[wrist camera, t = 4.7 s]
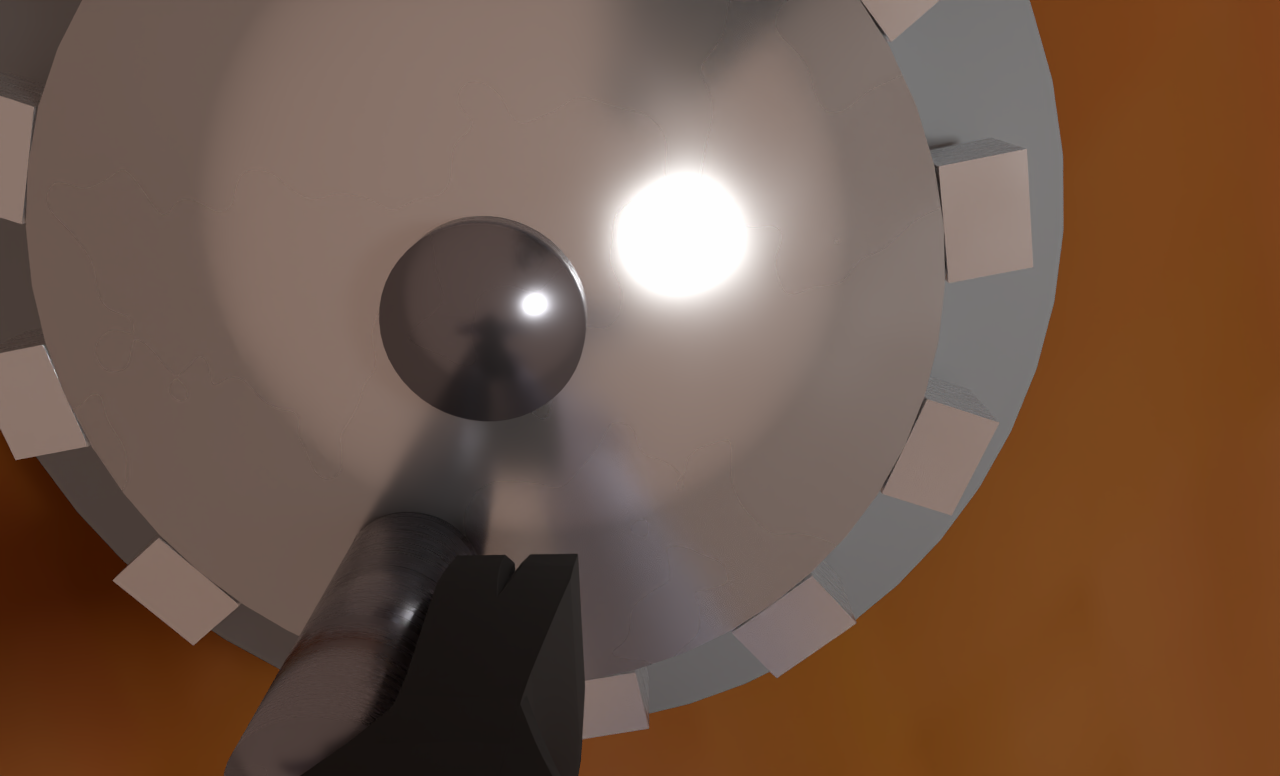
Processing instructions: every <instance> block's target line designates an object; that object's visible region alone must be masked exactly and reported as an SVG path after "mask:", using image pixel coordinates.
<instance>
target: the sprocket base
mask: <svg viewBox="0 0 1280 776" xmlns="http://www.w3.org/2000/svg"><path fill="white" fill-rule="evenodd" d="M81 1H82V0H0V73H7V72H11V73H14V74H17V75H20V76H23V77H26V78H29V79H32V80H35V81H38V82H41V83H44V84H46V82H47V79H48V76H49V73H50V70H51V67H52V64H53V61H54V58H55V55H56V52H57V49H58V46H59V45H60V43H61V41H62V39H63V37H64V35H65V33H66V31H67V29H68V27H69V25H70V23H71V21H72V19H73V17H74V15H75V13H76V11H77V9H78V7H79V5H80V3H81ZM887 43H888V45H889V47H890V49H891V51H892V53H893V55H894V58H895V60H896V62H897V64H898V66H899V69H900V71H901V73H902V75H903V77H904V80H905V82H906V84H907V86H908V88H909V90H910V93H911V95H912V97H913V99H914V101H915V104H916V106H917V109H918V113H919V116H920V119H921V123H922V126H923V129H924V133H925V136H926V139H927V143H928V146H929V149H930V150H931V149H936V148H941V147H946V146H951V145H956V144H961V143H966V142H971V141H976V140H981V139H986V138H994V139H997V140H1001V141H1004V142H1007V143H1010V144H1013V145H1016V146H1020V147H1023V148H1026V149H1027V159H1028V177H1029V196H1030V215H1031V233H1032V252H1033V267H1032V268H1026V269H1021V270H1016V271H1011V272H1005V273H1000V274H995V275H989V276H984V277H979V278H974V279H968V280H963V281H958V282H953V283H948V282H947V281H946V280H945V289H944V298H943V306H942V315H941V324H940V332H939V341H938V346H937V350H936V353H935V357H934V361H933V365H932V369H931V373H930V376H932V377H935V378H938V379H941V380H944V381H947V382H950V383H953V384H956V385H959V386H962V387H965V388H968V389H970V390H971V392H972V393H973V394H974V395H975V396H976V397H977V398H978V399H979V400H980V402H981V403H982V404H983V405H984V406H985V407H986V408H987V409H988V410H989V412H990V413H991V414H992V415H993V416H994V417H995V418H996V419H997V420H998V422H999V425H998V427H997V429H996V431H995V433H994V435H993V437H992V438H991V440H990V442H989V444H988V446H987V448H986V450H985V452H984V454H983V456H982V458H981V460H980V462H979V464H978V466H977V468H976V470H975V471H974V473H973V475H972V477H971V479H970V481H969V483H968V485H967V487H966V489H965V491H964V493H963V495H962V497H961V499H960V501H959V503H958V505H957V506H956V508H955V510H954V512H953V514H952V516H951V515H948V514H945V513H942V512H939V511H935V510H932V509H929V508H926V507H923V506H919V505H916V504H913V503H910V502H907V501H903V500H900V499H897V498H894V497H891V496H887V495H884V494H882V493H881V491H879V493H878V494H877V496H876V497H875V499H874V500H873V501H872V503H871V504H870V505H869V507H868V508H867V509H866V511H865V512H864V513H863V515H862V516H861V517H860V519H859V520H858V521H857V523H856V524H855V525H854V527H853V528H852V529H851V531H850V532H849V533H848V535H847V536H846V537H845V538H844V539H843V540H842V541H841V542H840V543H839V544H838V545H837V546H836V547H835V548H834V550H833V551H832V552H831V553H830V554H829V555H828V556H827V557H826V558H825V559H824V560H825V561H826V562H827V563H828V564H829V565H830V566H831V567H832V568H833V569H834V570H835V571H836V572H837V573H838V575H839V576H840V578H841V581H842V584H843V587H844V589H845V592H846V595H847V598H848V601H849V603H850V606H851V609H852V612H853V615H854V618H855V620H856V619H857V618H858V617H859V616H860V615H862V614H863V613H864V612H865V611H866V610H868V609H869V608H870V607H871V606H873V605H874V604H875V603H876V602H877V601H879V600H880V599H881V598H882V597H883V596H885V595H886V594H887V593H888V592H889V591H891V590H892V589H893V588H894V587H895V586H897V585H898V584H899V583H900V582H901V581H902V580H903V579H904V578H905V576H906V575H907V574H908V573H909V572H910V571H911V570H912V569H913V568H914V567H915V566H916V565H917V564H918V563H919V562H920V561H921V560H922V559H923V558H924V556H925V555H926V554H927V553H928V552H929V551H930V550H931V549H932V548H933V547H934V546H935V545H936V544H937V543H938V542H939V541H940V540H941V538H942V537H943V536H944V534H945V533H946V532H947V530H948V529H949V528H950V526H951V525H952V524H953V522H954V521H955V520H956V518H957V517H958V515H959V514H960V513H961V511H962V510H963V509H964V507H965V506H966V505H967V503H968V502H969V501H970V499H971V498H972V497H973V495H974V494H975V493H976V491H977V490H978V488H979V487H980V485H981V483H982V482H983V480H984V478H985V476H986V474H987V473H988V471H989V469H990V467H991V466H992V464H993V462H994V460H995V459H996V457H997V455H998V453H999V451H1000V450H1001V448H1002V446H1003V444H1004V443H1005V441H1006V439H1007V437H1008V435H1009V434H1010V432H1011V430H1012V427H1013V425H1014V422H1015V420H1016V418H1017V415H1018V413H1019V410H1020V408H1021V405H1022V403H1023V400H1024V398H1025V395H1026V393H1027V391H1028V388H1029V386H1030V383H1031V381H1032V378H1033V376H1034V373H1035V371H1036V368H1037V365H1038V361H1039V357H1040V353H1041V349H1042V346H1043V342H1044V338H1045V334H1046V331H1047V327H1048V323H1049V319H1050V315H1051V312H1052V308H1053V304H1054V299H1055V291H1056V283H1057V276H1058V268H1059V260H1060V252H1061V244H1062V237H1063V153H1062V146H1061V139H1060V132H1059V125H1058V118H1057V110H1056V103H1055V96H1054V89H1053V82H1052V77H1051V74H1050V70H1049V67H1048V63H1047V60H1046V56H1045V53H1044V49H1043V46H1042V42H1041V39H1040V35H1039V32H1038V28H1037V24H1036V21H1035V17H1034V14H1033V10H1032V7H1031V3H1030V1H1029V0H940V1H938V2H937V3H936V4H935V5H934V6H933V7H931V8H930V9H929V10H928V11H927V12H926V13H925V14H923V15H922V16H921V17H920V18H919V19H918V20H916V21H915V22H914V23H913V24H912V25H911V26H909V27H908V28H907V29H906V30H905V31H904V32H903V33H901V34H900V35H899V36H898V37H897V38H896V39H894V40H893V41H892V42H887ZM38 328H42V326H41V322H40V318H39V314H38V309H37V305H36V301H35V297H34V293H33V288H32V282H31V273H30V263H29V253H28V244H27V234H26V223H24V224H20V223H16V222H13V221H10V220H7V219H4V218H0V344H1V343H3V342H5V341H7V340H9V339H11V338H13V337H15V336H17V335H19V334H21V333H23V332H25V331H28V330H33V329H38ZM36 457H37V459H38V460H39V461H40V463H41V464H42V465H43V467H44V468H45V469H46V471H47V472H48V473H49V475H50V476H51V477H52V479H53V480H54V481H55V483H56V484H57V485H58V487H59V488H60V489H61V491H62V492H63V493H64V495H65V496H66V497H67V499H68V500H69V501H70V503H71V504H72V505H73V507H74V508H75V509H76V511H77V512H78V513H79V514H80V515H81V516H82V517H83V519H84V520H85V521H86V522H87V523H88V524H89V525H90V526H91V527H92V528H93V529H94V530H95V531H96V532H97V533H98V535H99V536H100V537H101V538H102V539H103V540H104V541H105V542H106V543H107V544H108V545H109V546H110V547H111V548H112V549H113V551H114V552H115V553H116V554H117V555H118V556H119V557H120V558H121V559H122V560H123V561H124V562H125V563H126V564H127V565H128V564H129V563H130V562H131V561H132V560H133V559H134V558H135V557H136V556H137V554H138V553H139V552H140V551H141V550H142V549H143V548H144V547H145V546H146V545H147V544H148V543H149V542H150V541H151V540H152V539H153V538H154V537H155V536H156V535H157V534H158V533H157V531H156V530H155V529H154V528H153V527H152V526H151V524H150V523H149V522H148V521H147V520H146V519H145V517H144V516H143V515H142V514H141V513H140V512H139V511H138V509H137V508H136V507H135V506H134V505H133V504H132V502H131V501H130V500H129V499H128V498H127V497H126V495H125V494H124V493H123V492H122V490H121V489H120V487H119V486H118V484H117V483H116V481H115V480H114V478H113V477H112V476H111V474H110V473H109V471H108V470H107V468H106V467H105V465H104V464H103V462H102V461H101V459H100V458H99V456H98V455H97V454H96V452H95V451H94V449H93V448H92V446H91V445H89V446H87V447H82V448H77V449H72V450H66V451H61V452H56V453H51V454H45V455H40V456H36ZM212 631H214V632H215V633H217V634H218V635H219V636H221V637H222V638H224V639H225V640H227V641H229V642H231V643H233V644H235V645H236V646H238V647H240V648H242V649H244V650H246V651H248V652H249V653H251V654H253V655H255V656H257V657H259V658H260V659H262V660H264V661H266V662H268V663H270V664H271V665H273V666H275V667H277V668H279V669H281V667H282V665H283V664H284V662H285V660H286V658H287V657H288V655H289V653H290V651H291V650H292V648H293V646H294V644H295V643H296V641H297V639H298V637H299V636H298V635H296V634H294V633H292V632H289V631H288V630H286V629H284V628H282V627H281V626H279V625H277V624H276V623H274V622H272V621H271V620H269V619H267V618H265V617H264V616H262V615H260V614H259V613H257V612H255V611H254V610H252V609H250V608H248V607H247V606H245V605H243V604H242V603H241V604H240V605H239V606H238V607H237V608H236V609H235V610H234V611H233V612H231V613H230V614H229V615H228V616H227V617H226V618H224V619H223V620H222V621H221V622H220V623H219V624H217V625H216V626H215V627H214V628H213V629H212ZM647 670H648V674H649V713H653V712H657V711H661V710H665V709H670V708H674V707H678V706H682V705H686V704H690V703H693V702H696V701H698V700H701V699H704V698H707V697H709V696H712V695H715V694H718V693H720V692H723V691H726V690H729V689H732V688H734V687H737V686H740V685H743V684H745V683H747V682H750V681H752V680H754V679H756V678H758V677H760V676H762V675H764V674H766V673H768V672H770V671H769V670H768V669H767V668H766V667H765V666H764V665H763V664H762V663H761V662H760V661H759V660H758V659H757V658H756V657H755V656H754V655H753V654H752V653H751V652H750V651H749V650H748V649H747V648H746V647H745V646H744V645H743V644H742V643H741V642H740V641H739V640H738V639H737V638H736V637H735V636H734V635H733V634H732V631H729V632H727V633H725V634H723V635H721V636H719V637H717V638H715V639H713V640H711V641H708V642H706V643H704V644H702V645H700V646H698V647H696V648H694V649H692V650H690V651H687V652H685V653H683V654H680V655H677V656H674V657H671V658H669V659H666V660H663V661H660V662H657V663H654V664H651V665H648V666H647Z"/></svg>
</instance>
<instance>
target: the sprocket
mask: <svg viewBox="0 0 1280 776" xmlns="http://www.w3.org/2000/svg"><path fill="white" fill-rule="evenodd" d="M938 1H940V0H82V1H81V3H80V5H79V7H78V9H77V11H76V13H75V15H74V17H73V19H72V21H71V23H70V25H69V27H68V29H67V31H66V33H65V35H64V37H63V39H62V41H61V43H60V45H59V46H58V49H57V52H56V55H55V58H54V61H53V64H52V67H51V70H50V73H49V76H48V79H47V82H46V84H44V83H41V82H38V81H35V80H32V79H29V78H26V77H23V76H20V75H17V74H14V73H11V72H7V73H0V218H4V219H7V220H10V221H13V222H16V223H20V224H24V223H26V234H27V244H28V253H29V263H30V273H31V282H32V288H33V293H34V297H35V301H36V305H37V309H38V314H39V318H40V322H41V326H42V328H38V329H33V330H28V331H25V332H23V333H21V334H19V335H17V336H15V337H13V338H11V339H9V340H7V341H5V342H3V343H1V344H0V429H1V431H2V433H3V435H4V437H5V439H6V441H7V443H8V445H9V447H10V450H11V452H12V454H13V456H14V458H15V460H19V459H24V458H29V457H35V456H40V455H45V454H51V453H56V452H61V451H66V450H72V449H77V448H82V447H87V446H89V445H91V446H92V448H93V449H94V451H95V452H96V454H97V455H98V456H99V458H100V459H101V461H102V462H103V464H104V465H105V467H106V468H107V470H108V471H109V473H110V474H111V476H112V477H113V478H114V480H115V481H116V483H117V484H118V486H119V487H120V489H121V490H122V492H123V493H124V494H125V495H126V497H127V498H128V499H129V500H130V501H131V502H132V504H133V505H134V506H135V507H136V508H137V509H138V511H139V512H140V513H141V514H142V515H143V516H144V517H145V519H146V520H147V521H148V522H149V523H150V524H151V526H152V527H153V528H154V529H155V530H156V531H157V533H158V534H157V535H156V536H155V537H154V538H153V539H152V540H151V541H150V542H149V543H148V544H147V545H146V546H145V547H144V548H143V549H142V550H141V551H140V552H139V553H138V554H137V556H136V557H135V558H134V559H133V560H132V561H131V562H130V563H129V564H128V565H127V566H126V567H125V568H124V569H123V570H122V571H121V572H120V573H119V574H118V575H117V576H116V577H115V578H114V579H113V580H112V581H114V582H115V583H116V584H117V585H119V586H120V587H121V588H122V589H124V590H125V591H126V592H127V593H129V594H130V595H131V596H132V597H134V598H135V599H136V600H137V601H139V602H140V603H141V604H142V605H144V606H145V607H146V608H147V609H149V610H150V611H151V612H152V613H154V614H155V615H156V616H157V617H158V618H160V619H161V620H162V621H163V622H165V623H166V624H167V625H168V626H170V627H171V628H172V629H173V630H175V631H176V632H177V633H178V634H180V635H181V636H182V637H183V638H185V639H186V640H187V641H188V642H190V643H191V644H192V645H194V644H195V643H197V642H198V641H199V640H200V639H201V638H202V637H204V636H205V635H206V634H207V633H208V632H209V631H211V630H212V629H213V628H214V627H215V626H216V625H217V624H219V623H220V622H221V621H222V620H223V619H224V618H226V617H227V616H228V615H229V614H230V613H231V612H233V611H234V610H235V609H236V608H237V607H238V606H239V605H240V604H241V603H242V604H243V605H245V606H247V607H248V608H250V609H252V610H254V611H255V612H257V613H259V614H260V615H262V616H264V617H265V618H267V619H269V620H271V621H272V622H274V623H276V624H277V625H279V626H281V627H282V628H284V629H286V630H288V631H289V632H292V633H294V634H296V635H298V636H299V637H298V639H297V641H296V643H295V644H294V646H293V648H292V650H291V651H290V653H289V655H288V657H287V658H286V660H285V662H284V664H283V665H282V667H281V669H280V671H279V672H278V674H277V676H276V678H275V679H274V681H273V683H272V685H271V686H270V688H269V690H268V692H267V693H266V695H265V697H264V699H263V700H262V702H261V704H260V706H259V707H258V709H257V711H256V713H255V715H254V716H253V718H252V720H251V722H250V723H249V725H248V727H247V729H246V730H245V732H244V734H243V736H242V737H241V739H240V741H239V743H238V744H237V746H236V748H235V750H234V751H233V753H232V755H231V757H230V759H229V761H228V763H227V766H226V769H225V772H224V776H300V775H302V774H303V773H305V772H306V771H308V770H309V769H310V768H312V767H313V766H315V765H316V764H318V763H319V762H321V761H322V760H323V759H325V758H326V757H328V756H329V755H331V754H332V753H333V752H335V751H336V750H338V749H339V748H341V747H342V746H344V745H345V744H346V743H348V742H349V741H350V740H352V739H353V738H354V737H356V736H357V735H358V734H359V733H361V732H362V731H363V730H364V729H366V728H367V727H368V726H369V725H370V724H372V723H373V722H374V721H375V720H377V719H378V718H379V717H380V716H381V715H383V714H384V713H385V712H386V711H387V710H389V709H390V708H391V707H392V706H393V704H394V702H395V700H396V698H397V696H398V694H399V692H400V689H401V687H402V684H403V682H404V680H405V677H406V675H407V672H408V669H409V666H410V663H411V660H412V657H413V654H414V651H415V647H416V644H417V641H418V638H419V635H420V632H421V629H422V626H423V623H424V620H425V617H426V614H427V611H428V608H429V605H430V602H431V599H432V596H433V593H434V590H435V587H436V585H437V582H438V580H439V579H440V577H441V576H442V574H443V573H444V571H445V569H446V568H447V567H448V566H449V564H450V563H451V562H452V561H453V560H454V559H455V557H456V556H457V555H506V556H508V557H509V558H510V559H511V560H512V561H513V562H514V563H515V571H516V569H517V568H518V567H519V565H520V564H521V563H522V562H523V561H524V560H525V559H526V558H527V557H528V556H529V555H530V554H578V561H579V580H580V599H581V618H582V636H583V655H584V674H585V701H584V718H583V735H582V739H586V738H592V737H598V736H605V735H611V734H617V733H624V732H630V731H636V730H643V729H649V674H648V670H647V666H648V665H651V664H654V663H657V662H660V661H663V660H666V659H669V658H671V657H674V656H677V655H680V654H683V653H685V652H687V651H690V650H692V649H694V648H696V647H698V646H700V645H702V644H704V643H706V642H708V641H711V640H713V639H715V638H717V637H719V636H721V635H723V634H725V633H727V632H729V631H732V634H733V635H734V636H735V637H736V638H737V639H738V640H739V641H740V642H741V643H742V644H743V645H744V646H745V647H746V648H747V649H748V650H749V651H750V652H751V653H752V654H753V655H754V656H755V657H756V658H757V659H758V660H759V661H760V662H761V663H762V664H763V665H764V666H765V667H766V668H767V669H768V670H769V671H770V672H771V673H772V674H773V675H774V676H775V677H776V678H778V677H779V676H781V675H782V674H783V673H785V672H786V671H788V670H789V669H791V668H792V667H794V666H795V665H796V664H798V663H799V662H801V661H802V660H804V659H805V658H807V657H808V656H809V655H811V654H812V653H814V652H815V651H817V650H818V649H820V648H821V647H823V646H824V645H825V644H827V643H828V642H830V641H831V640H833V639H834V638H836V637H837V636H838V635H840V634H841V633H843V632H844V631H846V630H847V629H849V628H850V627H851V626H853V625H854V624H856V620H855V618H854V615H853V612H852V609H851V606H850V603H849V601H848V598H847V595H846V592H845V589H844V587H843V584H842V581H841V578H840V576H839V575H838V573H837V572H836V571H835V570H834V569H833V568H832V567H831V566H830V565H829V564H828V563H827V562H826V561H825V560H824V559H825V558H826V557H827V556H828V555H829V554H830V553H831V552H832V551H833V550H834V548H835V547H836V546H837V545H838V544H839V543H840V542H841V541H842V540H843V539H844V538H845V537H846V536H847V535H848V533H849V532H850V531H851V529H852V528H853V527H854V525H855V524H856V523H857V521H858V520H859V519H860V517H861V516H862V515H863V513H864V512H865V511H866V509H867V508H868V507H869V505H870V504H871V503H872V501H873V500H874V499H875V497H876V496H877V494H878V493H879V491H881V493H882V494H884V495H887V496H891V497H894V498H897V499H900V500H903V501H907V502H910V503H913V504H916V505H919V506H923V507H926V508H929V509H932V510H935V511H939V512H942V513H945V514H948V515H951V516H952V514H953V512H954V510H955V508H956V506H957V505H958V503H959V501H960V499H961V497H962V495H963V493H964V491H965V489H966V487H967V485H968V483H969V481H970V479H971V477H972V475H973V473H974V471H975V470H976V468H977V466H978V464H979V462H980V460H981V458H982V456H983V454H984V452H985V450H986V448H987V446H988V444H989V442H990V440H991V438H992V437H993V435H994V433H995V431H996V429H997V427H998V425H999V422H998V420H997V419H996V418H995V417H994V416H993V415H992V414H991V413H990V412H989V410H988V409H987V408H986V407H985V406H984V405H983V404H982V403H981V402H980V400H979V399H978V398H977V397H976V396H975V395H974V394H973V393H972V392H971V390H970V389H968V388H965V387H962V386H959V385H956V384H953V383H950V382H947V381H944V380H941V379H938V378H935V377H932V376H930V373H931V369H932V365H933V361H934V357H935V353H936V350H937V346H938V341H939V332H940V324H941V315H942V306H943V298H944V289H945V280H946V281H947V282H948V283H953V282H958V281H963V280H968V279H974V278H979V277H984V276H989V275H995V274H1000V273H1005V272H1011V271H1016V270H1021V269H1026V268H1032V267H1033V252H1032V233H1031V215H1030V196H1029V177H1028V159H1027V149H1026V148H1023V147H1020V146H1016V145H1013V144H1010V143H1007V142H1004V141H1001V140H997V139H994V138H986V139H981V140H976V141H971V142H966V143H961V144H956V145H951V146H946V147H941V148H936V149H931V150H930V149H929V146H928V143H927V139H926V136H925V133H924V129H923V126H922V123H921V119H920V116H919V113H918V109H917V106H916V104H915V101H914V99H913V97H912V95H911V93H910V90H909V88H908V86H907V84H906V82H905V80H904V77H903V75H902V73H901V71H900V69H899V66H898V64H897V62H896V60H895V58H894V55H893V53H892V51H891V49H890V47H889V45H888V43H887V42H892V41H893V40H894V39H896V38H897V37H898V36H899V35H900V34H901V33H903V32H904V31H905V30H906V29H907V28H908V27H909V26H911V25H912V24H913V23H914V22H915V21H916V20H918V19H919V18H920V17H921V16H922V15H923V14H925V13H926V12H927V11H928V10H929V9H930V8H931V7H933V6H934V5H935V4H936V3H937V2H938Z"/></svg>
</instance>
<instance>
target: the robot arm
mask: <svg viewBox="0 0 1280 776" xmlns="http://www.w3.org/2000/svg"><path fill="white" fill-rule="evenodd" d="M584 701H585V674H584V655H583V636H582V618H581V599H580V580H579V561H578V554H530V555H529V556H528V557H527V558H526V559H525V560H524V561H523V562H522V563H521V564H520V565H519V567H518V568H517V569H516V571H515V563H514V562H513V561H512V560H511V559H510V558H509V557H508V556H506V555H457V556H456V557H455V559H454V560H453V561H452V562H451V563H450V564H449V566H448V567H447V568H446V569H445V571H444V573H443V574H442V576H441V577H440V579H439V580H438V582H437V585H436V587H435V590H434V593H433V596H432V599H431V602H430V605H429V608H428V611H427V614H426V617H425V620H424V623H423V626H422V629H421V632H420V635H419V638H418V641H417V644H416V647H415V651H414V654H413V657H412V660H411V663H410V666H409V669H408V672H407V675H406V677H405V680H404V682H403V684H402V687H401V689H400V692H399V694H398V696H397V698H396V700H395V702H394V704H393V706H392V707H391V708H390V709H389V710H387V711H386V712H385V713H384V714H383V715H381V716H380V717H379V718H378V719H377V720H375V721H374V722H373V723H372V724H370V725H369V726H368V727H367V728H366V729H364V730H363V731H362V732H361V733H359V734H358V735H357V736H356V737H354V738H353V739H352V740H350V741H349V742H348V743H346V744H345V745H344V746H342V747H341V748H339V749H338V750H336V751H335V752H333V753H332V754H331V755H329V756H328V757H326V758H325V759H323V760H322V761H321V762H319V763H318V764H316V765H315V766H313V767H312V768H310V769H309V770H308V771H306V772H305V773H303V774H302V775H300V776H578V774H579V768H580V762H581V750H582V735H583V718H584Z"/></svg>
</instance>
